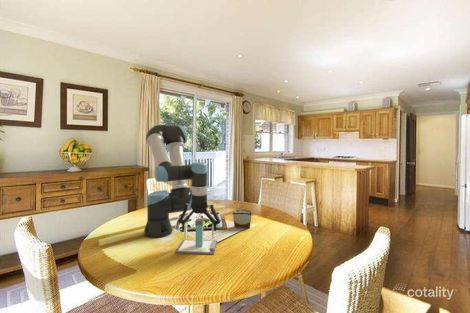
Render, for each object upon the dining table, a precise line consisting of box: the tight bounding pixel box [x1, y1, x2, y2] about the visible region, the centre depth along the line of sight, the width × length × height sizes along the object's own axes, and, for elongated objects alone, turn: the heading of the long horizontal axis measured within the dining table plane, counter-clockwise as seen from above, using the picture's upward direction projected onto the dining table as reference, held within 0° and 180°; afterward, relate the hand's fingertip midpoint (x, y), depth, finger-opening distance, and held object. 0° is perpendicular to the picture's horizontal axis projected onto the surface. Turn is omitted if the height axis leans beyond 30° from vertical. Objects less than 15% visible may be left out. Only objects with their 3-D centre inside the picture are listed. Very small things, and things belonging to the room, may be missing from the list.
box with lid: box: [194, 218, 204, 247], centre depth 117 cm, size 3×3×13 cm
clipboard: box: [174, 239, 218, 256], centre depth 118 cm, size 18×14×2 cm
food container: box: [231, 208, 253, 229], centre depth 146 cm, size 12×6×10 cm, turn 84°
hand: (199, 237), depth 117 cm, fingers open, 13 cm apart
